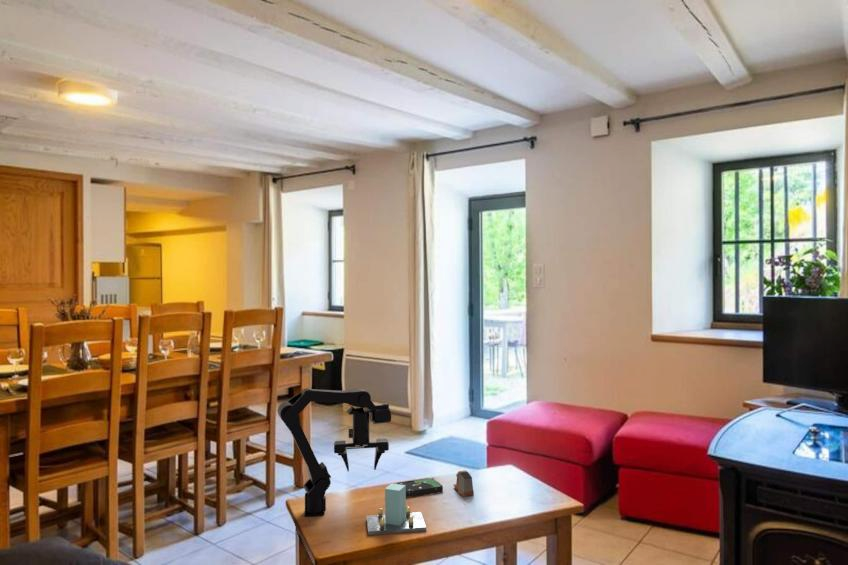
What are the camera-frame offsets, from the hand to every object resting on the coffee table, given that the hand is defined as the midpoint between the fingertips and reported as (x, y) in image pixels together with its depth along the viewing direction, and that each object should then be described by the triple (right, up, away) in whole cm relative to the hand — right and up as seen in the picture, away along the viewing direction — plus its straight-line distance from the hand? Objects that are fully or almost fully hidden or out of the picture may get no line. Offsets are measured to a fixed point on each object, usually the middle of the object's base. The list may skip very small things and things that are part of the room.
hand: (361, 470), depth 200 cm
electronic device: (+36, -12, +12) cm, 40 cm away
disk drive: (+20, -13, +14) cm, 27 cm away
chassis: (+13, -12, -17) cm, 24 cm away
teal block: (+13, -11, -17) cm, 24 cm away
